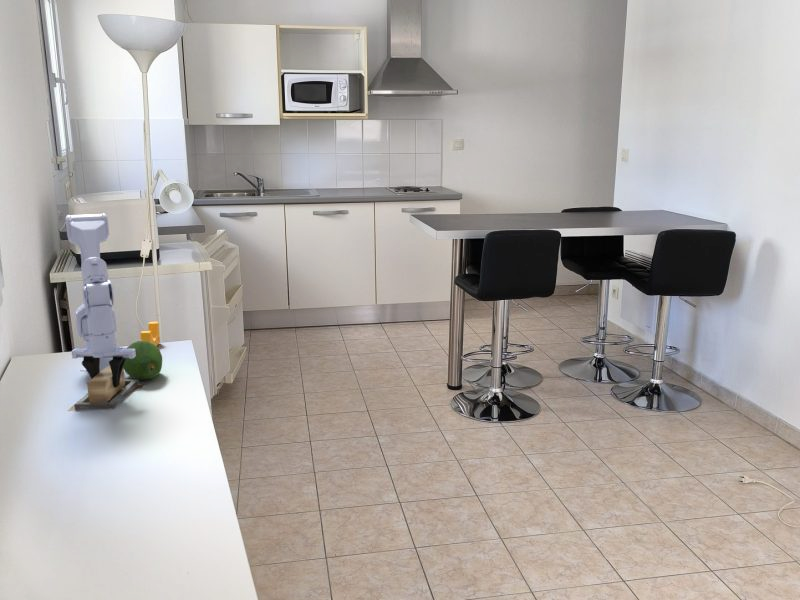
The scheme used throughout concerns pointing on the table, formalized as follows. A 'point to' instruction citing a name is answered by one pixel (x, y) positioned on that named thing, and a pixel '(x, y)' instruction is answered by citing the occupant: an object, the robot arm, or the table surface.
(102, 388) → the wooden block
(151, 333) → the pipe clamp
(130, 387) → the channel
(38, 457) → the table surface
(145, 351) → the fruit
